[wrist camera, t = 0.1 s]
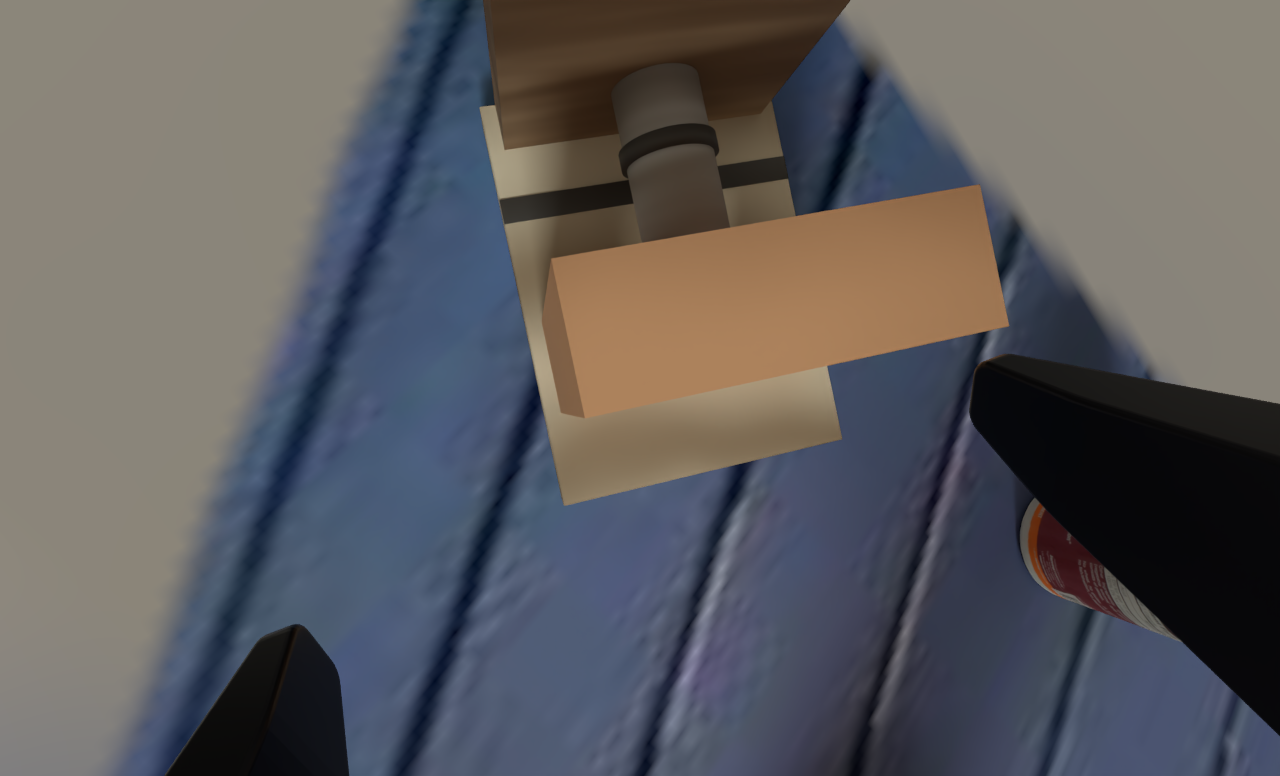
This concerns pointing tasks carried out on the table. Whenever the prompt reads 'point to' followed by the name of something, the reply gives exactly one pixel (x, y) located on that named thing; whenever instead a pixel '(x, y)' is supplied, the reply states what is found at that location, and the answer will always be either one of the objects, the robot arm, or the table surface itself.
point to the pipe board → (673, 419)
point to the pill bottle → (1077, 571)
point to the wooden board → (767, 299)
